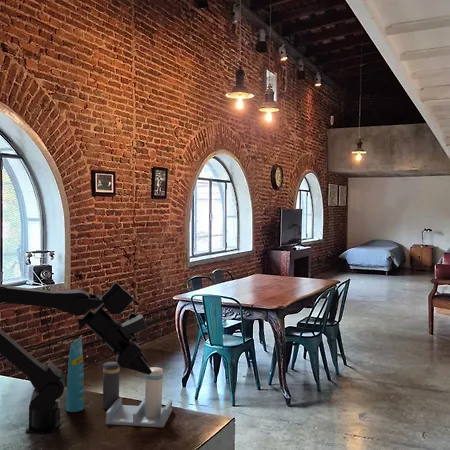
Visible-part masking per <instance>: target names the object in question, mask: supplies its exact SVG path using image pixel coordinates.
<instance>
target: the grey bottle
mask: <svg viewBox="0 0 450 450" xmlns="http://www.w3.org/2000/svg"><path fill="white" fill-rule="evenodd" d="M102 366H103V367H102V409H103V410H107V411H108V409H109V408H110V407H111V406H112V405H113V404H114V403H115V401H116V400H117V399H118V398H119V397H120V371H121V370H120V367H121V366H120V365H119V364H118V363H117V361H107V362H104V363H103V364H102Z"/></svg>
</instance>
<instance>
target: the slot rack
mask: <svg viewBox="0 0 450 450" xmlns="http://www.w3.org/2000/svg"><path fill="white" fill-rule="evenodd" d="M172 412H173V399H169V400H168V401H167V403H166V404H165V406H164V407H161V415H160V417H157V418H148V417H146V416H145V397H144V398H143V399H142V401H141V402H140V403H139V405H126V404H123V397H122V396H119V398H118V399H117V400H116V401H115V403H114V404H113V405H112V406H111V407H110V408H109V409H108V410H107V411H106V412H105V425H116V426H117V425H118V426H136V427H149V428H150V427H151V428H153V427H154V428H164V427H165V425H166V423H167V422H168V419H169V417H170V416H171V413H172Z"/></svg>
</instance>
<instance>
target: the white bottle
mask: <svg viewBox="0 0 450 450" xmlns="http://www.w3.org/2000/svg"><path fill="white" fill-rule="evenodd" d="M149 368H150V369H151V371H152V373H151V374H150V375H148V374H145V388H144V389H145V391H144V392H145V394H144V398H145V416H146V417H148V418H157V417H160V415H161V407H162V402H163V401H162V399H163V398H162V397H163V377H164V373H163V372H164V369H163V368H162V367H158V366H154V367H151V366H150V367H149Z"/></svg>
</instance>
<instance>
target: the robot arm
mask: <svg viewBox="0 0 450 450" xmlns="http://www.w3.org/2000/svg"><path fill="white" fill-rule="evenodd" d="M135 300H136V299H135V298H134V296H132V294H131V293H129V291H127V289H126V288H123V287H122V286H121V285H120V284H119V283H118V282H116V281H114V283H113V284H111V286H110V287H109V289H108V290H107V291H105V292H104V294H103V295H99V294H91V293H89V292H87V290H84V289H81V288H80V289H66V290H65V289H64V290H57V291H56V290H45V289H37V288H36V289H35V288H27V287H19V286H11V285H7V284H0V304H3V303H6V304H15V305H24V306H25V305H26V306H32V307H34V306H35V307H42V308H52V309H55V310H58V311H61V312H63V313H66V314H70V315H74V316H78V317H77V322H78V323H77V324H78V325H77V329H78V330H79V331H81V330H82V329H83V328H84V327H88V328H89V329H90V330H91V331H92V332H93V333H94V334H95V335H96V336H97V337H98V338H99V339H100V342H102V343H103V344H105V345H106V346H107V347H108V348H110V349H111V350H112V353H113V354H114V355H116V362H117V363H118V364H119V367H121V369H129V370H133V371H135V372H139V373H142V374H145V375H146V374H148V375H150V374H151V373H152V371H151V369H150V368H151V367H150V366H149V365H148V364H147V363H148V360H147V358H146V357H145V355H144V354H143V352H142V351H143V349H142V347H141V346H140V345H139V344H138V342H137V340H138V338H137V336H136V334H137V333H139V332H142V331H145V330H147V329H148V325H147V323H146V321H145V318H144V316H143V315H142V314H141V313H140V314H136V313H135V312H131V313H129V314H128V316H127V317H128V318H127V320H125V321H124V322H122V323H121V321H119V320H115V319H114V318H113V317H112V316H116V315H119V316H120V315H121V314H122V313H123V312H124V311H125V310H126V309H127V308H128V307H129V306H131V304H132V303H133V302H134V301H135ZM104 308H105V309H104ZM106 311H108V312H109V313H110V314H109V313H108V312H106ZM111 315H112V316H111ZM79 316H81V317H79ZM0 355H1V356H2V357H4V359H5V360H7V361H8V362H9V363H10V364H11V365H12V366H14V367H15V368H16V369H17V370H18V371H20V372H21V373H22V374H23V375H25V377H27V379H28V380H29V382H30V383H31V385H32V387H33V388H34V389H33V391H32V394H31V397H30V401H29V404H28V427H26V429H25V433H36V434H37V433H38V434H51V433H52V432H53V431H55V430H56V429H57V428H58V427H59V426H60V425H61V423H62V421H61V408H60V407H59V401H57V400H58V399H60V398H61V397H62V396H63V394H64V392H65V391H64V390H65V380H66V379H65V376H64V374H63V369H60V368H58V367H57V366H56V365H55V363H53V362H52V360H50V361H49V362H48V363H47V364H46V363H42V362H40V361H39V360H38V359H37V358H35V356H33V355H32V354H30V352H28V350H26V349H25V348H24V347H22V346H21V345H20V344H19V343H18V342H17V341H15V340H14V339H13V338H12V337H11V336H9V334H7V333H6V332H5V331H4V330H3V329H1V328H0Z"/></svg>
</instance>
